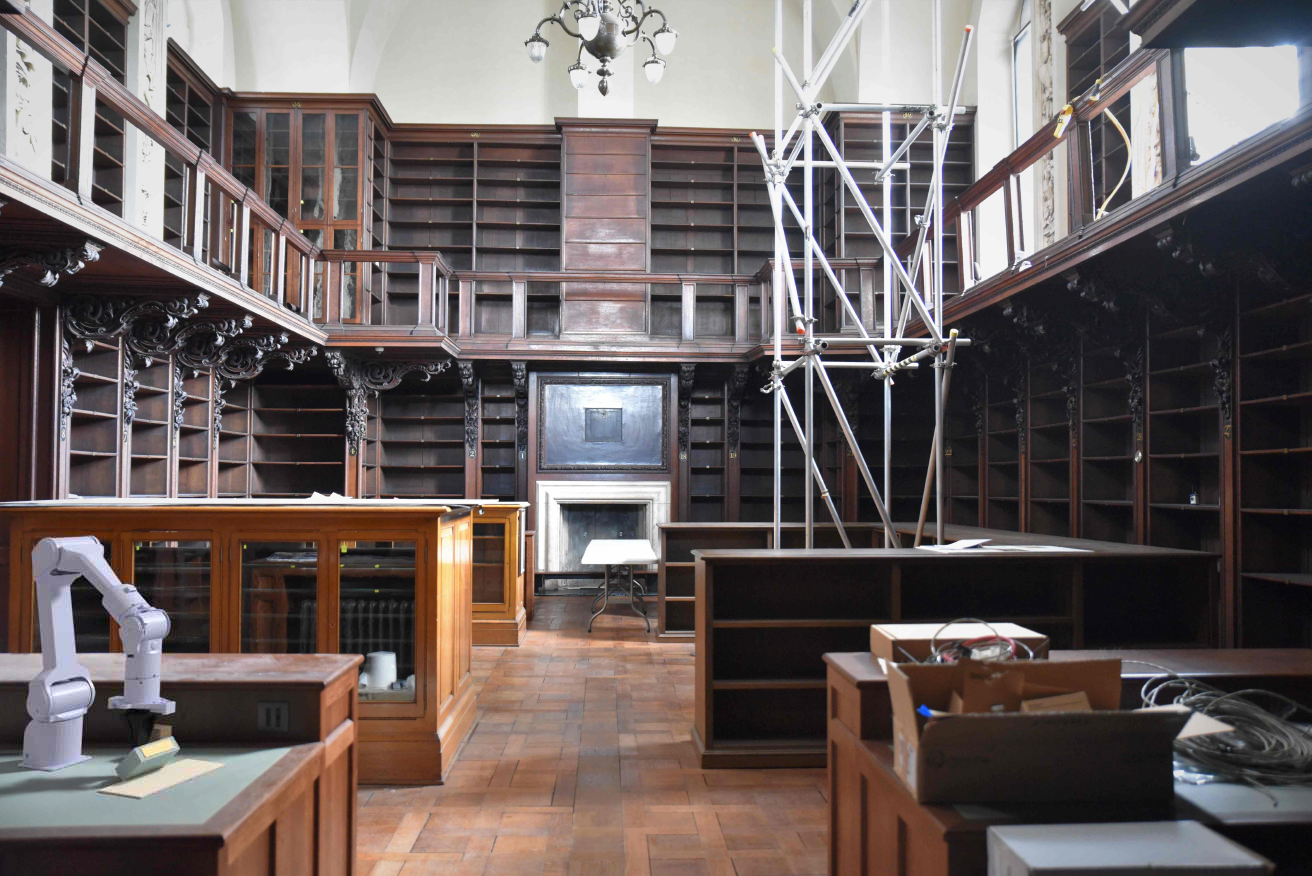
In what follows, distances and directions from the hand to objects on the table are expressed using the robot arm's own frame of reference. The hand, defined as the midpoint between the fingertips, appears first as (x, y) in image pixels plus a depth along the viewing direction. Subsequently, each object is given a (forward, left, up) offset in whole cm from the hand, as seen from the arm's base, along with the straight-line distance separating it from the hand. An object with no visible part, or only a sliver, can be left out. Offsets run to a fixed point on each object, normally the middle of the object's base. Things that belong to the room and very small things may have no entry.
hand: (139, 749), depth 151 cm
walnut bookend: (-6, +8, -4) cm, 11 cm away
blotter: (+7, 0, -4) cm, 8 cm away
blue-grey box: (0, 0, -3) cm, 3 cm away
